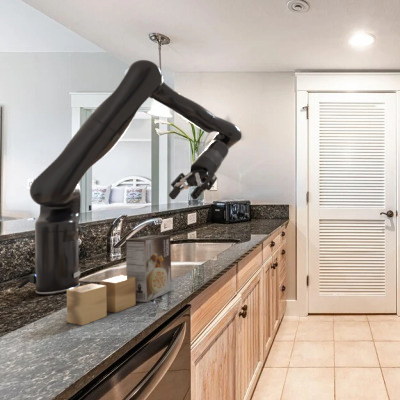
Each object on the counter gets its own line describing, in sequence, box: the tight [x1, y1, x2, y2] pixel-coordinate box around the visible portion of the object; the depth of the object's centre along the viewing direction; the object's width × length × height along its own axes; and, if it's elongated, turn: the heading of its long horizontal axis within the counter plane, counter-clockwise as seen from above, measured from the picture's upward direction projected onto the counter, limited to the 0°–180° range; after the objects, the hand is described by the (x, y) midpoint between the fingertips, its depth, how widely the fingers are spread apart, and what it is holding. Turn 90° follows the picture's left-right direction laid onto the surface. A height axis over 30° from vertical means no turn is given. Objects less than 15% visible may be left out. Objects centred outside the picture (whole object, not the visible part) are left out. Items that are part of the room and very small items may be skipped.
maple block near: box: [66, 283, 108, 326], centre depth 64 cm, size 5×5×7 cm
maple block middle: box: [99, 275, 136, 314], centre depth 70 cm, size 5×5×7 cm
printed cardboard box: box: [125, 234, 173, 303], centre depth 79 cm, size 9×6×16 cm
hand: (181, 197), depth 89 cm, fingers open, 8 cm apart
